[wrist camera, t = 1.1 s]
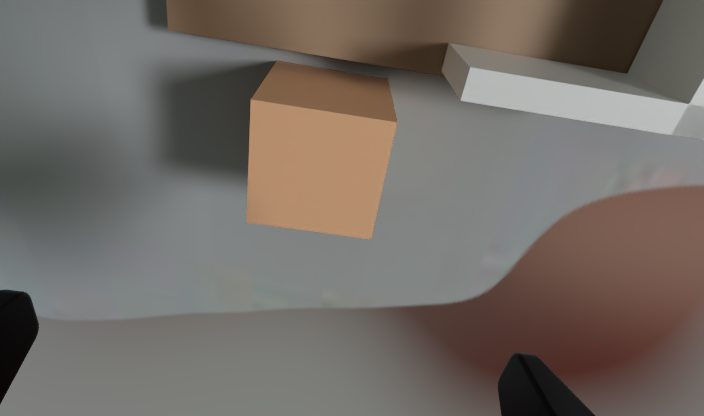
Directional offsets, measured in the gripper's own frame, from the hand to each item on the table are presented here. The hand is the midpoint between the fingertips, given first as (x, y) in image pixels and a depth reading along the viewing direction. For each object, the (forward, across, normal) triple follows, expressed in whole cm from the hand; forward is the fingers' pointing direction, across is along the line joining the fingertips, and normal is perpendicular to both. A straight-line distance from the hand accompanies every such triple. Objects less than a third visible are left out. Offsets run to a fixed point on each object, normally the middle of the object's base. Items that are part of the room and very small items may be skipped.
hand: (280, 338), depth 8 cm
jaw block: (+12, 0, 0) cm, 12 cm away
